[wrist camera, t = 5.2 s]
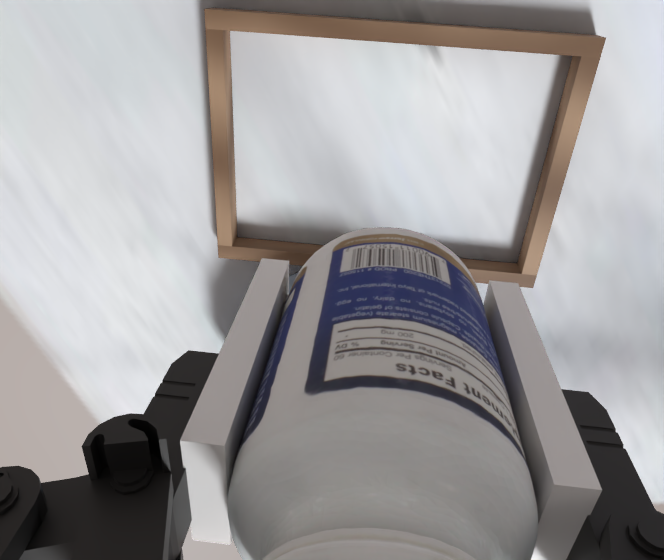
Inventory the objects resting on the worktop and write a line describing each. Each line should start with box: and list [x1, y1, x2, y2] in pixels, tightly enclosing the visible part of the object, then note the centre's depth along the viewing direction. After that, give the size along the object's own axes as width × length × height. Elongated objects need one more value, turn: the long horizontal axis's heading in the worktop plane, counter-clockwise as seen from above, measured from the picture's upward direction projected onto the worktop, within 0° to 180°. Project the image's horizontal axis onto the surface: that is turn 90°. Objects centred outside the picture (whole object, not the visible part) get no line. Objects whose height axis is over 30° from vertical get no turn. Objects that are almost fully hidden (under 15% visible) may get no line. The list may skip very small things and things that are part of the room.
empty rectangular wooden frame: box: [204, 8, 606, 288], centre depth 27 cm, size 13×18×1 cm
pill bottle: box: [228, 227, 538, 560], centre depth 11 cm, size 5×5×10 cm
